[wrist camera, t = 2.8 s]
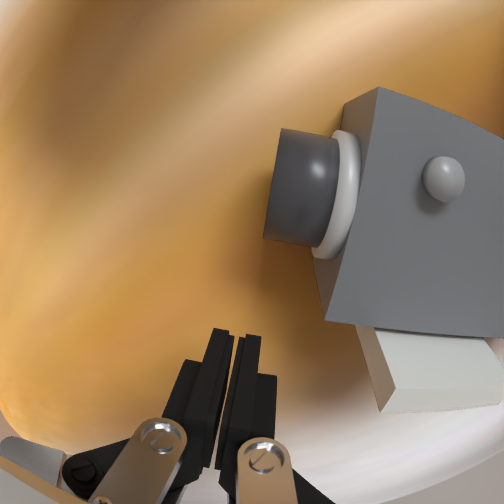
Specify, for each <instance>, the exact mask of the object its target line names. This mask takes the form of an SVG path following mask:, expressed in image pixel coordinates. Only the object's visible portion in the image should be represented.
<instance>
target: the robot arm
mask: <svg viewBox="0 0 504 504" xmlns="http://www.w3.org/2000/svg"><path fill="white" fill-rule="evenodd" d="M233 343H234V336H232V335H229V331H228V330H222V329H217V328H214V329H213V331H212V334H211V337H210V340H209V343H208V346H207V349H206V352H205V355H204V358H203V361H202V362H197V361H192V360H188V359H185V361H184V363H183V365H182V368H181V370H180V372H179V375H178V377H177V380H176V382H175V385H174V387H173V390H172V392H171V395H170V397H169V400H168V402H167V405H166V407H165V410H164V413H163V415H162V418H157V417H156V418H152V419H148V420H146V421H144V422H143V423H142V424H141V425H140V426H139V427H138V428H137V430H136V431H135V433H134V434H133V436H132V437H131V438H129V439H126V440H123V441H120V442H116V443H113V444H110V445H107V446H103V447H100V448H97V449H93V450H90V451H86V452H82V453H78V454H75V455H73V456H72V455H68V454H65V452H64V451H61V450H57V449H53V448H50V447H46V446H43V445H40V444H37V443H34V442H30V441H28V440H25V439H22V438H18V437H14V436H11V437H6V438H5V439H3V440H2V441H1V443H0V504H179V502H180V500H181V498H182V496H183V494H184V492H185V490H186V488H187V485H188V484H189V483H191V482H193V481H195V480H197V479H199V475H200V474H202V470H203V467H206V468H209V467H210V463H211V458H212V454H213V449H214V444H215V440H216V435H217V431H218V426H219V422H220V417H221V413H222V408H223V403H224V399H225V394H226V389H227V383H228V376H229V370H230V363H231V356H232V350H233ZM260 346H261V336H256V335H250V334H246V338H243V337H239V341H238V346H237V350H236V355H235V360H234V365H233V369H232V374H231V379H230V383H229V388H228V393H227V398H226V402H225V407H224V412H223V416H222V422H221V427H220V434H219V440H218V447H217V454H216V461H215V468H214V469H216V470H221V472H220V477H219V484H220V485H221V486H222V488H223V489H224V490H225V491H226V492H227V504H335V503H334V502H332V501H331V500H330V499H329V498H327V497H326V496H325V495H323V494H322V493H321V492H320V491H319V490H317V489H316V488H315V487H314V486H312V485H311V484H310V483H309V482H308V481H306V480H305V479H304V478H303V477H302V476H301V475H299V474H298V473H297V472H296V471H295V470H294V469H293V468H292V466H291V460H290V455H289V453H288V450H287V449H286V448H285V447H284V446H283V445H282V444H281V443H279V442H278V441H276V440H274V435H275V416H276V395H277V376H275V375H268V374H261V373H257V372H258V363H259V355H260Z"/></svg>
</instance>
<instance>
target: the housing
mask: <svg viewBox="0 0 504 504" xmlns="http://www.w3.org/2000/svg"><path fill="white" fill-rule="evenodd" d="M263 238H264V239H269V240H275V241H281V242H286V243H292V244H297V245H303V246H308V247H311V250H312V255H313V256H314V258H313V265H314V270H315V275H316V280H317V285H318V290H319V295H320V301H321V306H322V311H323V317H324V321H331V322H338V323H346V324H353V325H361V326H369V327H377V328H386V329H394V330H404V331H413V332H424V333H435V334H446V335H459V336H474V337H491V338H504V139H502V138H500V137H498V136H497V135H495V134H493V133H491V132H489V131H487V130H485V129H483V128H481V127H479V126H477V125H475V124H473V123H471V122H469V121H467V120H465V119H463V118H461V117H458V116H456V115H454V114H452V113H449V112H447V111H445V110H442V109H440V108H437V107H435V106H433V105H430V104H427V103H425V102H422V101H420V100H417V99H414V98H411V97H409V96H406V95H403V94H400V93H397V92H394V91H391V90H388V89H385V88H381V87H377V88H375V89H373V90H371V91H369V92H367V93H365V94H363V95H361V96H359V97H357V98H355V99H353V100H351V101H349V102H347V103H345V104H344V111H343V117H342V123H341V129H340V130H336V131H335V132H334V133H333V134H332V136H331V138H330V137H326V136H321V135H316V134H311V133H306V132H301V131H296V130H290V129H284V128H281V133H280V138H279V144H278V150H277V155H276V161H275V167H274V173H273V179H272V185H271V190H270V196H269V202H268V208H267V214H266V221H265V227H264V233H263Z"/></svg>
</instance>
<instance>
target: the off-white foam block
mask: <svg viewBox="0 0 504 504" xmlns="http://www.w3.org/2000/svg"><path fill="white" fill-rule="evenodd" d="M355 328H356V331H357V334H358V337H359V341H360V344H361V347H362V351H363V354H364V357H365V361H366V364H367V368H368V371H369V375H370V378H371V382H372V386H373V389H374V393H375V397H376V401H377V405H378V408H379V411H380V413H419V412H437V411H449V410H460V409H469V408H477V407H484V406H491V405H497V404H499V403H500V402H501V400H502V399H503V398H504V367H503V366H502V364H501V363H500V361H499V360H498V358H497V357H496V356H495V354H494V353H493V351H492V350H491V349H490V347H489V346H488V345H487V343H486V342H485V341H484V339H483V338H482V337H474V336H459V335H446V334H435V333H424V332H413V331H404V330H394V329H386V328H377V327H369V326H361V325H355Z"/></svg>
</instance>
